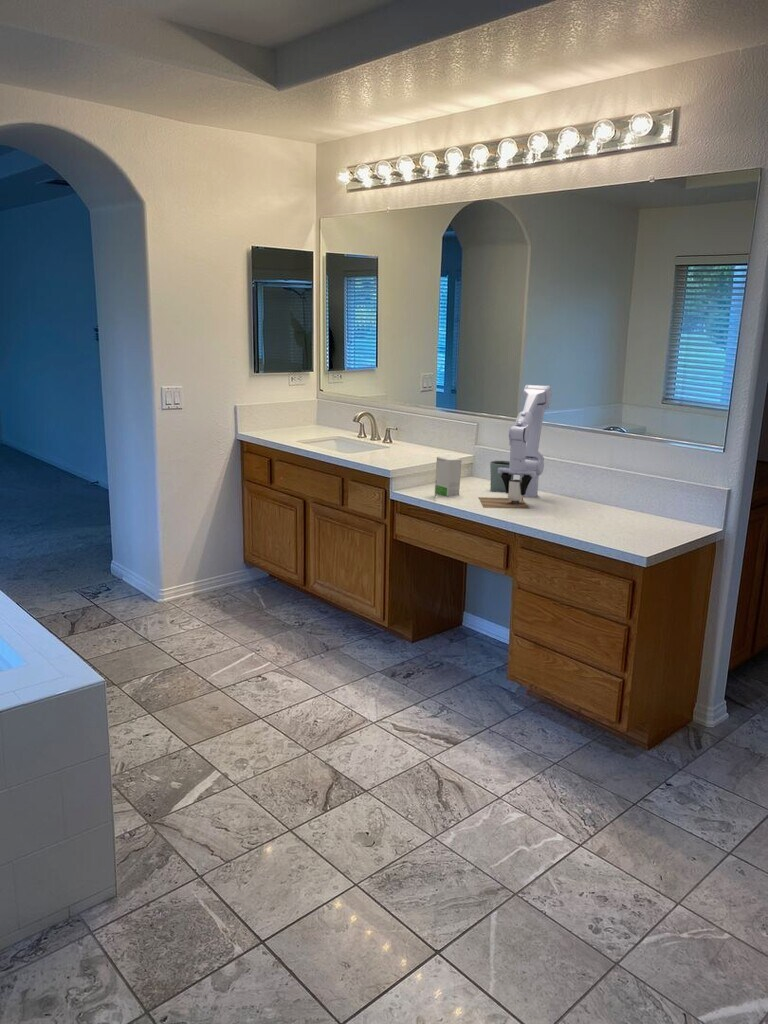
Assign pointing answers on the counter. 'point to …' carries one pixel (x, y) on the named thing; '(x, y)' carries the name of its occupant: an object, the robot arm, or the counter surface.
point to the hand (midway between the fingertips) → (515, 493)
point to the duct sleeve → (515, 490)
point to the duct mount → (502, 503)
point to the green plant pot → (498, 475)
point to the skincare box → (447, 475)
